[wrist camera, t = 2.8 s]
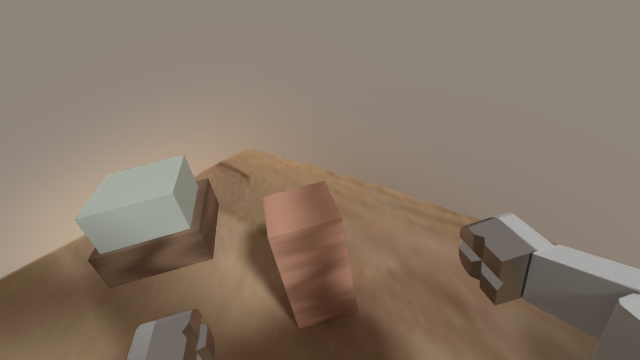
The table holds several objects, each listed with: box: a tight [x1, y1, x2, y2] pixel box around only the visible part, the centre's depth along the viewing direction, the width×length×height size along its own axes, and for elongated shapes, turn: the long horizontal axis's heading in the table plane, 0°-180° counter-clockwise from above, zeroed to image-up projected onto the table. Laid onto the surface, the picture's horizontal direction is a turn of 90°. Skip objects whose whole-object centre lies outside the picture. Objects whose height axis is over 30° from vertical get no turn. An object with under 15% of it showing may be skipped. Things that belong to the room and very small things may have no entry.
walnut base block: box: [88, 179, 219, 288], centre depth 38 cm, size 11×11×4 cm
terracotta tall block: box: [263, 181, 358, 329], centre depth 25 cm, size 5×5×10 cm
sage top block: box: [75, 155, 198, 254], centre depth 35 cm, size 9×9×4 cm
